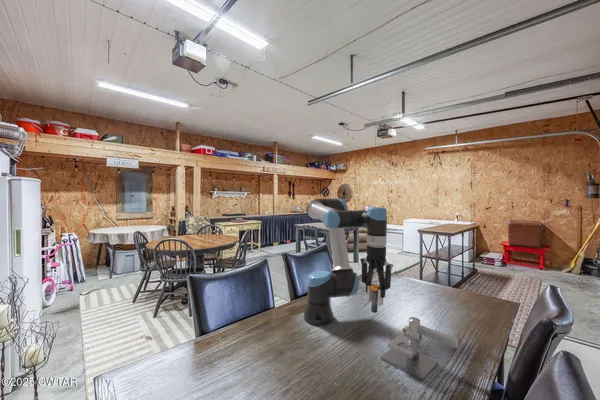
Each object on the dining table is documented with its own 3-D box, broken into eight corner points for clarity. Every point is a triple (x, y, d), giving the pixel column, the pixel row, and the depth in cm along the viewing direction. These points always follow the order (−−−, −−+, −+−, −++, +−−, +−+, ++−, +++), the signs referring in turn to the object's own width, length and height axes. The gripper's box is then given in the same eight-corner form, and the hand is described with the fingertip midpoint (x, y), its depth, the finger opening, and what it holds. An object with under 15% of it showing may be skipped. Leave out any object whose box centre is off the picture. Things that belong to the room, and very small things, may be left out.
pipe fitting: (410, 345, 111) (422, 341, 114) (410, 336, 111) (422, 332, 114) (397, 336, 119) (408, 332, 121) (396, 327, 118) (408, 324, 121)
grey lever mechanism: (379, 360, 100) (380, 321, 100) (398, 345, 110) (398, 310, 110) (443, 394, 83) (445, 348, 83) (459, 373, 93) (460, 332, 93)
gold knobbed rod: (366, 310, 105) (368, 285, 105) (372, 307, 108) (373, 283, 107) (376, 314, 102) (377, 288, 101) (381, 311, 105) (382, 286, 104)
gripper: (353, 243, 108) (352, 298, 108) (391, 250, 95) (390, 313, 96) (363, 241, 113) (362, 294, 113) (401, 247, 100) (400, 307, 101)
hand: (375, 302), depth 105 cm, fingers closed on gold knobbed rod, 4 cm apart
